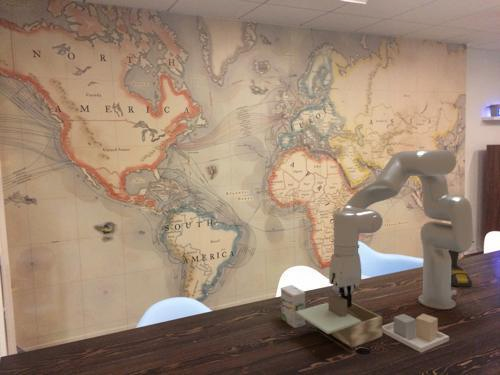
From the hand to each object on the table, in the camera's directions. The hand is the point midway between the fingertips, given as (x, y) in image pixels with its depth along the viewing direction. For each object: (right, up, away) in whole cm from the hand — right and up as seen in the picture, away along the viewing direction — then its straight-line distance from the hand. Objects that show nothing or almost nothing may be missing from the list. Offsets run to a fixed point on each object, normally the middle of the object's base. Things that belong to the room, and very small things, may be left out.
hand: (346, 305), depth 114 cm
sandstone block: (+24, -9, -4) cm, 26 cm away
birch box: (+1, -9, +1) cm, 10 cm away
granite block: (+18, -9, -3) cm, 20 cm away
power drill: (+61, -5, +41) cm, 74 cm away
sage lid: (-7, -3, -4) cm, 8 cm away
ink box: (-16, -9, +10) cm, 21 cm away
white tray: (+20, -9, -3) cm, 23 cm away
